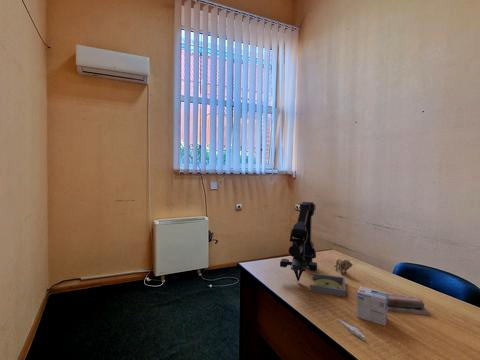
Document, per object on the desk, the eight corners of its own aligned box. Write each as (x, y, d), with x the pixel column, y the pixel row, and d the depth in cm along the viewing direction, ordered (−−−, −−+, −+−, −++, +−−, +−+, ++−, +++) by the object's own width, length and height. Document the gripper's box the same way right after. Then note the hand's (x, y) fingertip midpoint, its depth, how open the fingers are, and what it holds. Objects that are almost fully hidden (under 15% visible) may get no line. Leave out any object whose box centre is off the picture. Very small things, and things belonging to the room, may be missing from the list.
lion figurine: (353, 276, 150) (354, 260, 149) (345, 277, 148) (345, 261, 148) (337, 267, 164) (338, 252, 163) (330, 267, 162) (330, 253, 162)
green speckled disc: (312, 288, 135) (312, 284, 135) (319, 280, 144) (319, 276, 144) (335, 294, 129) (335, 290, 128) (340, 285, 138) (341, 281, 138)
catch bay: (312, 278, 146) (312, 273, 146) (344, 283, 141) (344, 277, 141) (310, 291, 131) (310, 285, 131) (345, 296, 126) (345, 290, 126)
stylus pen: (368, 340, 94) (368, 335, 94) (362, 342, 94) (362, 337, 94) (338, 319, 109) (338, 315, 109) (333, 321, 108) (333, 316, 108)
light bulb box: (387, 318, 109) (388, 292, 108) (385, 326, 103) (386, 299, 102) (359, 310, 115) (359, 285, 114) (355, 317, 109) (356, 291, 108)
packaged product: (383, 300, 114) (376, 289, 124) (382, 311, 115) (375, 300, 124) (430, 305, 111) (419, 294, 120) (430, 316, 111) (419, 304, 121)
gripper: (278, 254, 136) (277, 284, 136) (316, 258, 130) (315, 290, 131) (281, 247, 146) (281, 276, 147) (317, 251, 140) (317, 280, 141)
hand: (298, 280), depth 141 cm, fingers closed
